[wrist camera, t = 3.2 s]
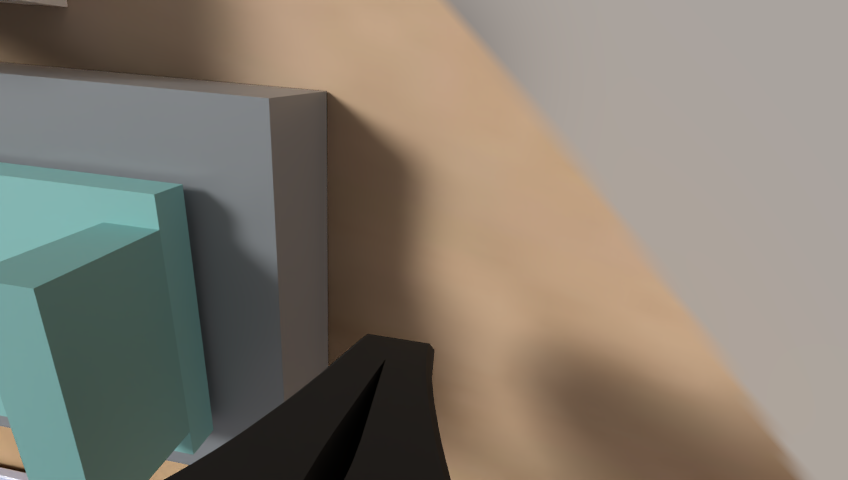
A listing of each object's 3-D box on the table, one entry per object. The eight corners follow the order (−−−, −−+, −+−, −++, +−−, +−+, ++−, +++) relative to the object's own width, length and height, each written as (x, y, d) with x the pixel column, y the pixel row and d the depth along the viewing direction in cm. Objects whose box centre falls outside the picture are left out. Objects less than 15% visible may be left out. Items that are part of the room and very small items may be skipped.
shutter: (213, 429, 11) (107, 561, 8) (-5, 387, 12) (-173, 493, 9) (182, 184, 9) (20, 242, 6) (-85, 152, 10) (-346, 188, 7)
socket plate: (328, 408, 15) (288, 485, 12) (-79, 333, 17) (-193, 385, 14) (326, 91, 11) (268, 98, 8) (-193, 44, 13) (-376, 38, 10)
